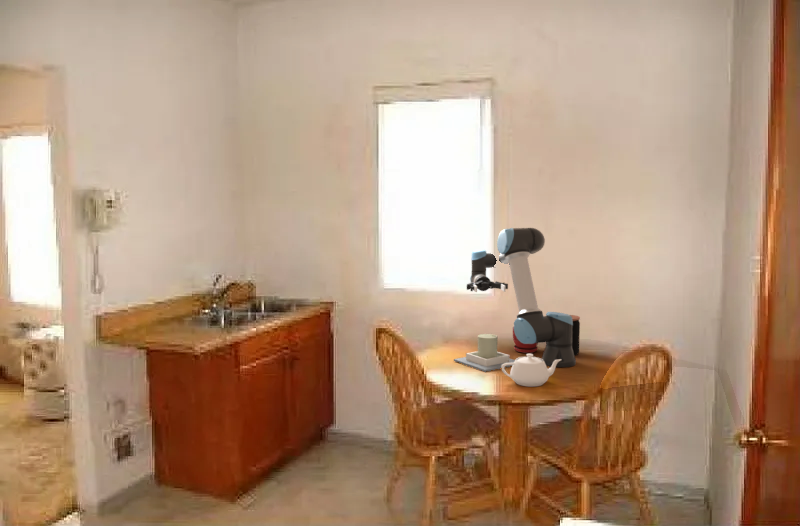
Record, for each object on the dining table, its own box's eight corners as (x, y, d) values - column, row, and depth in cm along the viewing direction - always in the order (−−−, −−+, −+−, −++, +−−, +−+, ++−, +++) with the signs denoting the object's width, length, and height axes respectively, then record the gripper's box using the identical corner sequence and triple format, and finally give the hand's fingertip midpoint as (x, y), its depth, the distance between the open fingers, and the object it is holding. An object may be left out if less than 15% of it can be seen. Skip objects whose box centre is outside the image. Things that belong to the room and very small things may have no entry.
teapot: (505, 389, 262) (505, 359, 260) (497, 377, 277) (497, 349, 275) (567, 388, 263) (567, 358, 261) (555, 376, 278) (556, 348, 277)
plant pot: (506, 349, 325) (507, 326, 324) (527, 346, 332) (527, 323, 330) (524, 355, 314) (524, 331, 313) (545, 352, 320) (545, 328, 319)
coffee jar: (583, 355, 314) (584, 318, 312) (563, 356, 311) (564, 319, 309) (571, 350, 324) (572, 314, 322) (552, 351, 321) (552, 315, 319)
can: (496, 363, 296) (497, 337, 295) (476, 362, 298) (476, 336, 296) (498, 358, 305) (498, 333, 304) (478, 357, 307) (478, 332, 305)
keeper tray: (522, 364, 298) (522, 355, 298) (485, 372, 286) (485, 363, 286) (489, 354, 316) (489, 346, 316) (453, 361, 304) (453, 352, 304)
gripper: (506, 289, 334) (516, 296, 313) (457, 290, 333) (464, 297, 312) (506, 275, 333) (516, 280, 312) (457, 275, 332) (464, 281, 311)
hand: (490, 289), depth 312 cm, fingers open, 13 cm apart
